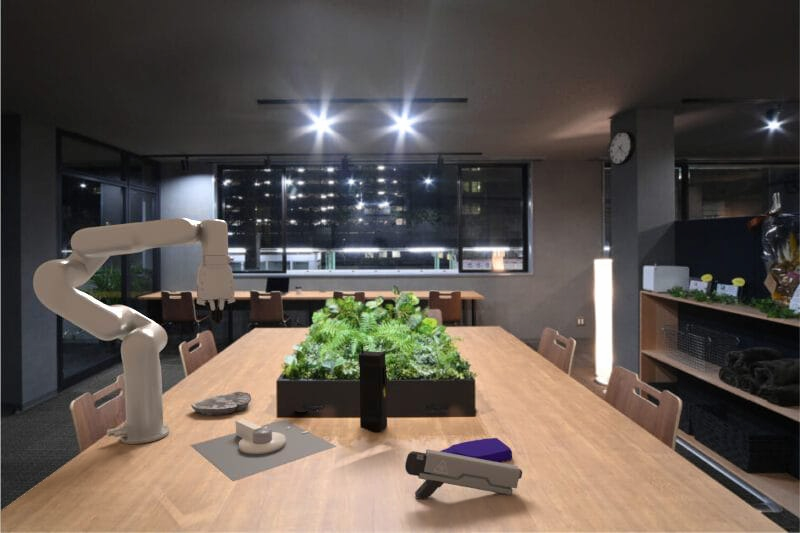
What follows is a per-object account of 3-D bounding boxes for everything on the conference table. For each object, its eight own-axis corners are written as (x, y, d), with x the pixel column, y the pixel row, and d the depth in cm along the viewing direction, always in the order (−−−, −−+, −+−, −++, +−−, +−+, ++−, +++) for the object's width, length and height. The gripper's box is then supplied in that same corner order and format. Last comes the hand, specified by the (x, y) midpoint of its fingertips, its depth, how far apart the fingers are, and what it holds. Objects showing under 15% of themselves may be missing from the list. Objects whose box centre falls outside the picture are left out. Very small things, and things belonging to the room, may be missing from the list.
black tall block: (391, 426, 147) (389, 343, 146) (384, 433, 141) (382, 347, 140) (367, 423, 149) (365, 342, 148) (359, 430, 144) (357, 346, 143)
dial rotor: (294, 443, 130) (294, 429, 130) (254, 458, 121) (253, 442, 121) (259, 427, 142) (258, 414, 142) (219, 440, 134) (219, 425, 133)
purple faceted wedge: (495, 435, 132) (408, 449, 124) (516, 451, 121) (423, 467, 114) (495, 446, 132) (409, 460, 124) (516, 462, 121) (423, 479, 114)
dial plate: (233, 487, 110) (233, 480, 110) (190, 450, 131) (190, 444, 131) (336, 451, 129) (336, 445, 129) (284, 424, 150) (284, 418, 150)
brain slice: (213, 422, 153) (213, 413, 153) (185, 412, 163) (184, 403, 163) (265, 406, 168) (265, 397, 168) (236, 397, 179) (235, 389, 179)
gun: (398, 489, 106) (408, 445, 105) (510, 510, 107) (520, 465, 107) (399, 495, 103) (409, 449, 103) (513, 516, 105) (523, 471, 104)
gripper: (238, 260, 151) (240, 319, 152) (186, 262, 144) (188, 323, 145) (243, 261, 145) (245, 322, 146) (189, 262, 138) (191, 327, 138)
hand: (216, 322), depth 145 cm, fingers closed
